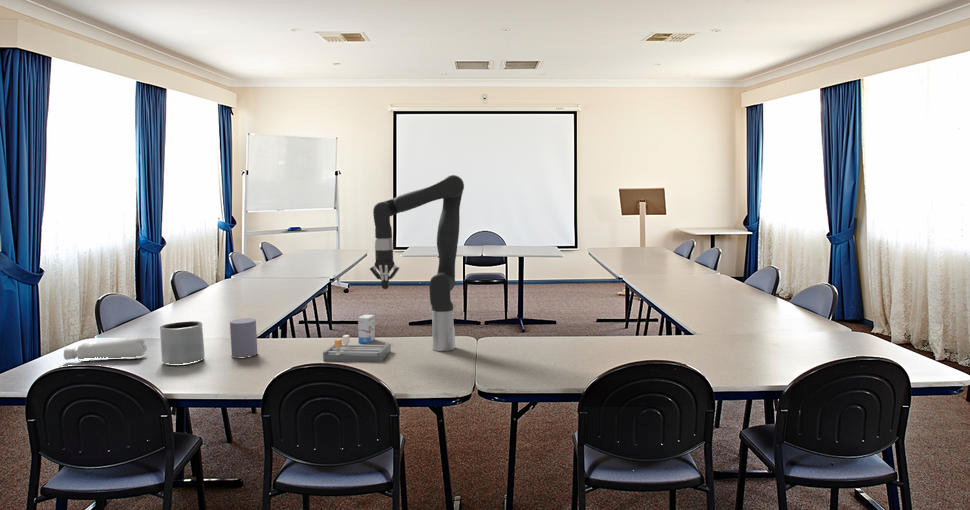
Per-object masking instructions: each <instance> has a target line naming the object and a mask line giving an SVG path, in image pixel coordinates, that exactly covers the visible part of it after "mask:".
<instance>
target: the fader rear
mask: <svg viewBox="0 0 970 510" xmlns="http://www.w3.org/2000/svg"><path fill="white" fill-rule="evenodd" d="M350 342H351V341H350V334H344V335H342V345H345V347H348V345H349V344H350Z"/></svg>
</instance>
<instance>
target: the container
mask: <svg viewBox="0 0 970 510" xmlns="http://www.w3.org/2000/svg"><path fill="white" fill-rule="evenodd" d="M229 330H230V332H229V333H230V346H231V357H232V356H234V357H248V356H253V355H255V356H257V355H258V354H257V353H259V352H258V351H259V350H258V337H257V318H256V319H255V318H239V319H232V320H230V321H229ZM256 354H257V355H256ZM253 357H254V356H253Z"/></svg>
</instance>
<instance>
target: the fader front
mask: <svg viewBox="0 0 970 510" xmlns="http://www.w3.org/2000/svg"><path fill="white" fill-rule="evenodd" d="M334 344H335V348H337V351H340V347H342V345H343V338H336V339H335V340H334Z"/></svg>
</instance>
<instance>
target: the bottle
mask: <svg viewBox="0 0 970 510" xmlns="http://www.w3.org/2000/svg"><path fill="white" fill-rule="evenodd" d="M147 351H148V346H147V343H146V339H145V338H142V337H140V336H139V337H128V338H124V339H116V340H108V341H101V342H100V341H99V342H95V343H91V344H90V343H87V342H84V343H82V344H80V345H78V347H77V348H65V349H64V350H63V358H64V360H66V361H69V360H75V358H76V359H78V360H79V359H84V358H95V357H96V358H97V357H98V358H100V357H101V358H103V357H104V358H106V357H108V358H121V357H136V356H142V355H144V354H145V355H146V352H147Z"/></svg>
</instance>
